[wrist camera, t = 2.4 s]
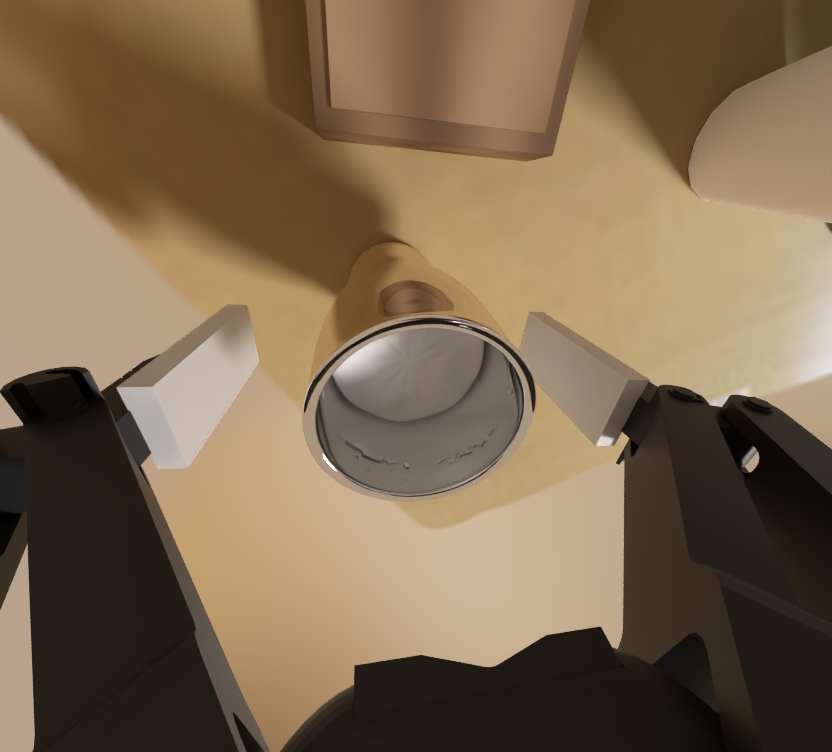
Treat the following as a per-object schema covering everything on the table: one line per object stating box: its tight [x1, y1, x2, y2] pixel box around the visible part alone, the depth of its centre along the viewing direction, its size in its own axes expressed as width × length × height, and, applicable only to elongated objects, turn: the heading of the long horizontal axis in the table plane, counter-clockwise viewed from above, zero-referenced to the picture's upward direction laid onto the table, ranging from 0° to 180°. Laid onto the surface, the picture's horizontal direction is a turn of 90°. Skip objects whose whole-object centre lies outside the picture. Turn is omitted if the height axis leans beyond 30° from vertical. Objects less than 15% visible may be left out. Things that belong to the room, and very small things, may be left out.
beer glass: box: [302, 242, 536, 502], centre depth 15 cm, size 7×7×15 cm
